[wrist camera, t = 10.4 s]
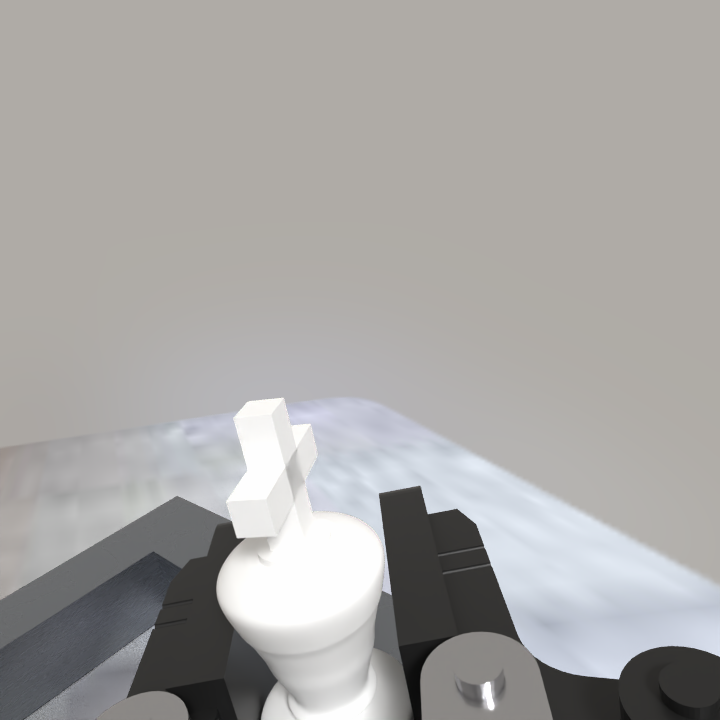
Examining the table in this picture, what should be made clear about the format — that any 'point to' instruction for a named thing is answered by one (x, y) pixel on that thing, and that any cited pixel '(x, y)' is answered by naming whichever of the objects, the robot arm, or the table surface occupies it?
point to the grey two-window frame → (108, 605)
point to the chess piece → (305, 583)
